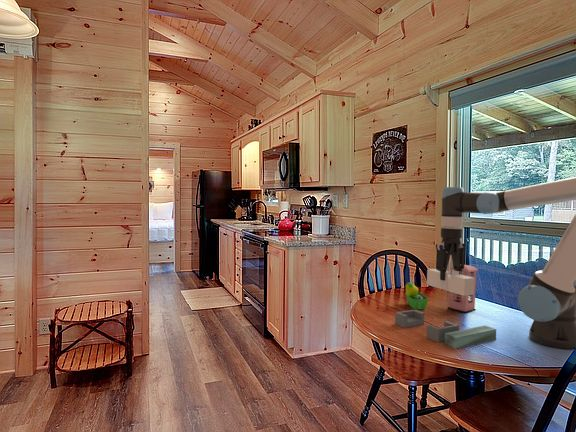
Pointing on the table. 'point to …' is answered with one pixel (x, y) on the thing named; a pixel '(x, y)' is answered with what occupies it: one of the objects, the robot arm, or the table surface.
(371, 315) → the table surface
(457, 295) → the miniature model
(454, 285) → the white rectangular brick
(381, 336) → the table surface
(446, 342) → the grey-green long bar
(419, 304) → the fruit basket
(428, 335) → the cradle
